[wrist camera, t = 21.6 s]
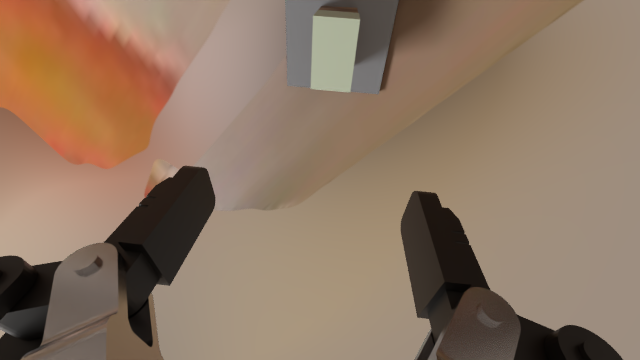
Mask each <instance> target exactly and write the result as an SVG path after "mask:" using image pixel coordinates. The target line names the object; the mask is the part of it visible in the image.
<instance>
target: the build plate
mask: <svg viewBox="0 0 640 360" xmlns="http://www.w3.org/2000/svg"><path fill="white" fill-rule="evenodd" d="M285 1H286V2H285V3H286V44H287V85H288V86H297V87H308V88H311V63H312V33H313V15H314V14H315V13H316V12H317V11H318V9H319V8H320V7H321V6H331V7H352V8H357V10H358V13H359V16H360V25H359V32H358V39H357V47H356V54H355V61H354V69H353V76H352V83H351V91H350V92H361V93H371V94H379V90H380V86H381V81H382V76H383V72H384V67H385V62H386V58H387V53H388V48H389V44H390V39H391V34H392V30H393V25H394V20H395V16H396V11H397V6H398V2H399V0H285Z"/></svg>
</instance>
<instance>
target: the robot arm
mask: <svg viewBox="0 0 640 360" xmlns="http://www.w3.org/2000/svg"><path fill="white" fill-rule="evenodd" d="M214 206H215V194H214V191H213V187H212V184H211V181H210V177H209V174H208V171H207V169H206V168H202V167H193V166H183V167H182V168H181V169H180V170H179V171H178V172H177V173H176V174H175V176H174V177H173V178H171V177H169V178H167V179H166V180H164V181H162V182H161V183H159V184H158V185H156V186H155V187H154V188H153V189H152V190H151V191H150V193H149V194H148V195H147V197H146V198H144V199H143V200H142V201H141V202H140V204H139V207H136V208H135V209H134V210H133V211H132V212H131V213H130V214H129V216H128V217H127V218H126V219H125V220H124V221H123V222H122V223H121V224H120V225H119V227H118V228H117V229H116V230H115V231H114V232H113V233H112V234H111V235H110V236H109V238H108V239H107V240H106V241H105V242H104V243H96V244H92V245H89V246H86V247H83V248H81V249H79V250H77V251H75V252H74V253H73V254H71V255H69V256H68V257H67V258H66V259H65V260H64V261H59V262H53V263H47V264H41V265H35V266H31V265H29V264H28V263H27V262H26V261H24V260H23V259H22V258H20V257H18V256H3V257H0V330H2V331H4V332H6V333H5V334H4V335H3V336H2V337H1V338H0V360H164V359H163V357H162V355H161V352H160V348H159V341H158V333H157V324H156V317H155V308H154V300H153V295H152V293H151V292H152V290H153V289H154V287H155V286H156V284H161V285H169V286H170V284H171V283H172V281H173V279H174V277H175V276H176V274H177V272H178V270H179V269H180V267H181V265H182V264H183V262H184V260H185V258H186V257H187V255H188V253H189V251H190V250H191V248H192V246H193V244H194V243H195V241H196V239H197V237H198V236H199V234H200V232H201V231H202V229H203V227H204V225H205V223H206V222H207V220H208V218H209V217H210V215H211V213H212V212H213V209H214ZM401 235H402V240H403V245H404V251H405V256H406V261H407V266H408V271H409V276H410V281H411V287H412V292H413V296H414V302H415V307H416V313H417V317H419V318H427V319H429V320H430V325H431V330H430V331H429V333H428V335H427V336H426V338H425V340H424V342H423V344H422V346H421V348H420V350H419V352H418V354H417V356H416V357H415V359H414V360H623V359H622V358H621V356H620V355H619V354H618V353H617V352H616V351H615V350H614V349H613V348H612V347H611V346H610V345H609V344H608V343H607V342H606V341H604V340H603V339H602V338H600V337H599V336H598V335H595V334H594V333H592V332H591V331H589V330H587V329H584V328H582V327H579V326H575V325H567V326H564V327H562V328H560V329H558V330H556V331H554V330H552V329H549V328H547V327H545V326H542V325H540V324H537V323H535V322H533V321H530V320H528V319H526V318H523V317H521V316H519V315H517V314H516V313H515V311H514V310H513V308H512V307H511V306H510V305H509V304H508V302H507V301H505V300H504V299H503V298H502V297H501V296H499V295H498V294H496V293H495V292H493V291H491V290H490V288H489V286H488V284H487V282H486V279H485V277H484V275H483V273H482V271H481V268H480V266H479V264H478V261H477V259H476V257H475V254H474V252H473V250H472V248H471V246H470V245H469V241H468V239H467V237H466V235H465V234H464V230H463V228H462V225H461V223H460V220H459V219H458V218H457V217H456V216H455V215H454V213H453V212H452V211H451V210H450V209H449V208H442V206H441V204H440V201H439V199H438V196H437V194H436V193H431V192H420V191H414V192H413V193H412V195H411V197H410V200H409V202H408V204H407V207H406V209H405V212H404V214H403V217H402V221H401Z"/></svg>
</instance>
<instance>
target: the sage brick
mask: <svg viewBox="0 0 640 360" xmlns="http://www.w3.org/2000/svg"><path fill="white" fill-rule="evenodd" d="M359 25H360V16H359V13H354V12H341V11H329V10H318V11H317V12H316V13H315V14H314V15H313V33H312V63H311V89H317V90H328V91H339V92H349V93H350V91H351V83H352V76H353V69H354V61H355V54H356V47H357V39H358V32H359Z"/></svg>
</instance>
